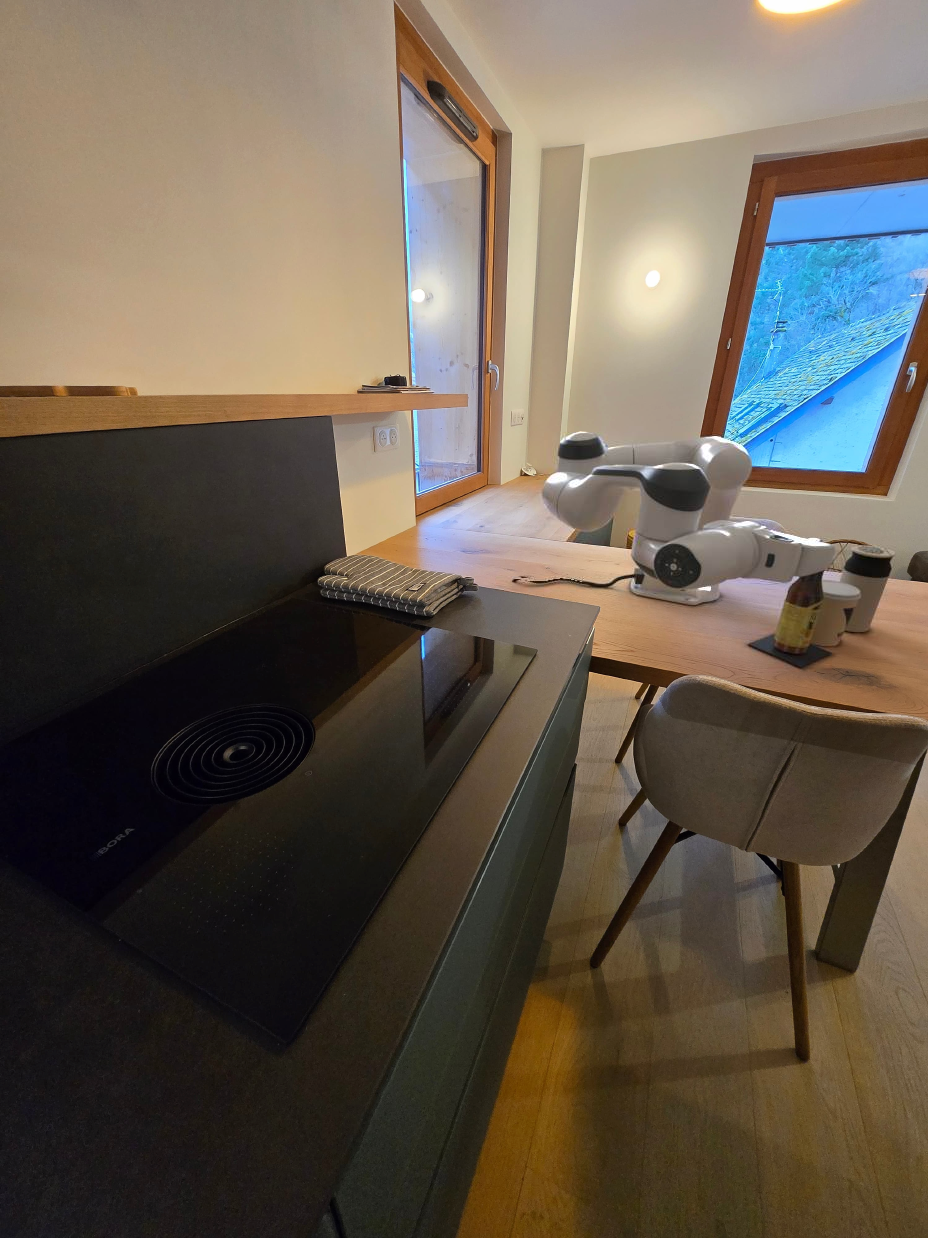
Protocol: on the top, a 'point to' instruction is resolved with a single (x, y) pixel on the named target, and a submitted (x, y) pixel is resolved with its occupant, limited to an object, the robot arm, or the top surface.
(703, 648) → the top surface
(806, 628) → the sauce bottle
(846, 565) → the travel mug
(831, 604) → the coffee cup
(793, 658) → the coaster
